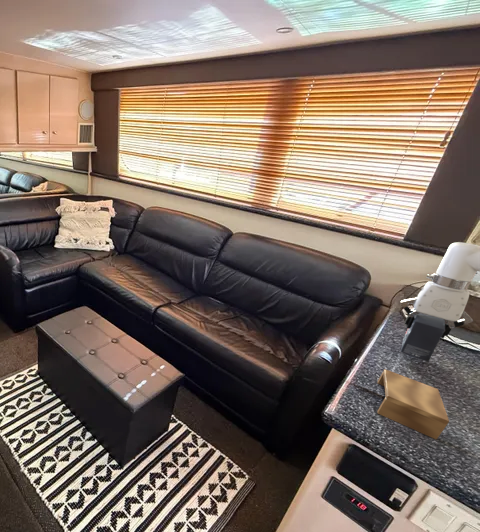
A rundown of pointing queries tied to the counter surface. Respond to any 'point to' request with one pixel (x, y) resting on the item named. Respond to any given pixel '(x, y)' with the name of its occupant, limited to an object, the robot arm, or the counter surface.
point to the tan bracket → (413, 404)
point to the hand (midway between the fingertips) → (424, 331)
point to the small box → (423, 336)
